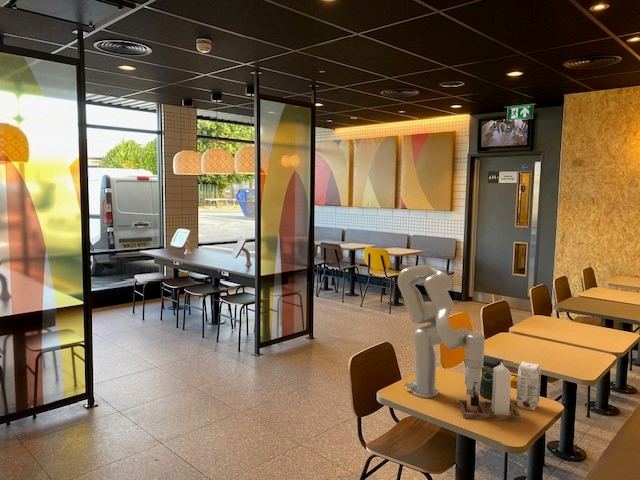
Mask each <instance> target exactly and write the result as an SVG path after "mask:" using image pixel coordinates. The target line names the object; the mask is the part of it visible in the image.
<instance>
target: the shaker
mask: <svg viewBox="0 0 640 480" xmlns="http://www.w3.org/2000/svg"><path fill="white" fill-rule="evenodd" d="M473 394H474V392H473ZM471 396H472V392H471V390H470V391H469V390H468V392H467V391H466V400H467V406H466V412H467V413H478V412H479V408H478V406H471Z"/></svg>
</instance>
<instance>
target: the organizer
mask: <svg viewBox="0 0 640 480" xmlns="http://www.w3.org/2000/svg"><path fill="white" fill-rule="evenodd" d="M458 406H459V407H458V408H459V410H460V413H461V416H462V418H463V419H469V420H470V419H473V420H484V421H485V420H486V421H499V422H500V421H503V422H513V423H514V422H516V423H517V422H518V423H522V417H521V414H520V413H519V412H518V409H516V407H515V405H514V403H513V402H510V407H509V410H510V411H511V412H512V414H513V415H510V414H509V415H497V414H493V413H490V411H489V409H488V408H492V401H484V400H479V406H478V411H479V413H468V412H467V410H466V407H467V399H458ZM465 406H466V407H465Z"/></svg>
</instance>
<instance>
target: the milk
mask: <svg viewBox="0 0 640 480" xmlns="http://www.w3.org/2000/svg"><path fill="white" fill-rule="evenodd" d="M511 383H512V373H511V372H510V370H509V368H507V367H506V366H505V365H504V362H503V363H502V362H501V365H499V366H497V367H495V368H494V369H493V390H492V400H491V402H492V407H491V412H492V414H497V415H510V409H509V407H510V403H511V385H512V384H511Z"/></svg>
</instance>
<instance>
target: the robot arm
mask: <svg viewBox="0 0 640 480" xmlns="http://www.w3.org/2000/svg"><path fill="white" fill-rule="evenodd" d="M418 284H423V286H424V288H425V291H426V293H427V296H428V297H429V299H430V301H424V298H423V295H422V293H421V291H420V290H419V289H418V287H417V286H416V285H418ZM397 285H398V288H399V291H400V293H401V295H402V297H403V300H404V303H405V307H406V309H407V313H408V316H409V319H410V321H411V322H412V324H414V325H423V324H426V325H425V326H424V325H423V326H421V327H419V328H417V329H416V330H415V331H414V333H413V343H414V352H415V353H414V379H413V381H411V382H409V381H408V382H406V381H405V382H404V387H406V388H407V389H410V391H411V394H413V395H414V396H415V397H419V398H425V399H426V398H431V399H432V398H435V397H437V396H439V390H438V388H436V368H437V367H436V366H437V355H436V354H437V353H436V351H435V348H434V346H437V345H440V344H443V345H444V347H446V348H447V349H449V350H456V349H458V348H462V347H465V352H464V353H465V355H464V366H465V374H464V375H465V378H464V385H465V386H466V393H467V392H468V390H469V391H470V390H471V392H472V396H471V406H479V401H480V386H481V376H482V369H481V368H483V362H484V355H485V336H484V335H483V334H482V333H479V332H474V331H472V330H470V329H468V328H465V327H460V328H458V329H457V328H456V329H454V330H453V328H452V326H451V324H450V323H451V322H450V317H449V316H450V313H451V311H452V310H453V308H454V306H455V304H454V301H453V299H452V297H451V295H450V293H449V290H451V288H452V287H453V280H452V278H451V276H449V274H448V273H445V272H444V271H442V270H439V269H437V268H435V267H433V266H430V265H428V264H422V265H412V266H408V267H405V268H403V269H402V270H401V271H400V272H399V274H398V276H397ZM473 392H474V394H473Z"/></svg>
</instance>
